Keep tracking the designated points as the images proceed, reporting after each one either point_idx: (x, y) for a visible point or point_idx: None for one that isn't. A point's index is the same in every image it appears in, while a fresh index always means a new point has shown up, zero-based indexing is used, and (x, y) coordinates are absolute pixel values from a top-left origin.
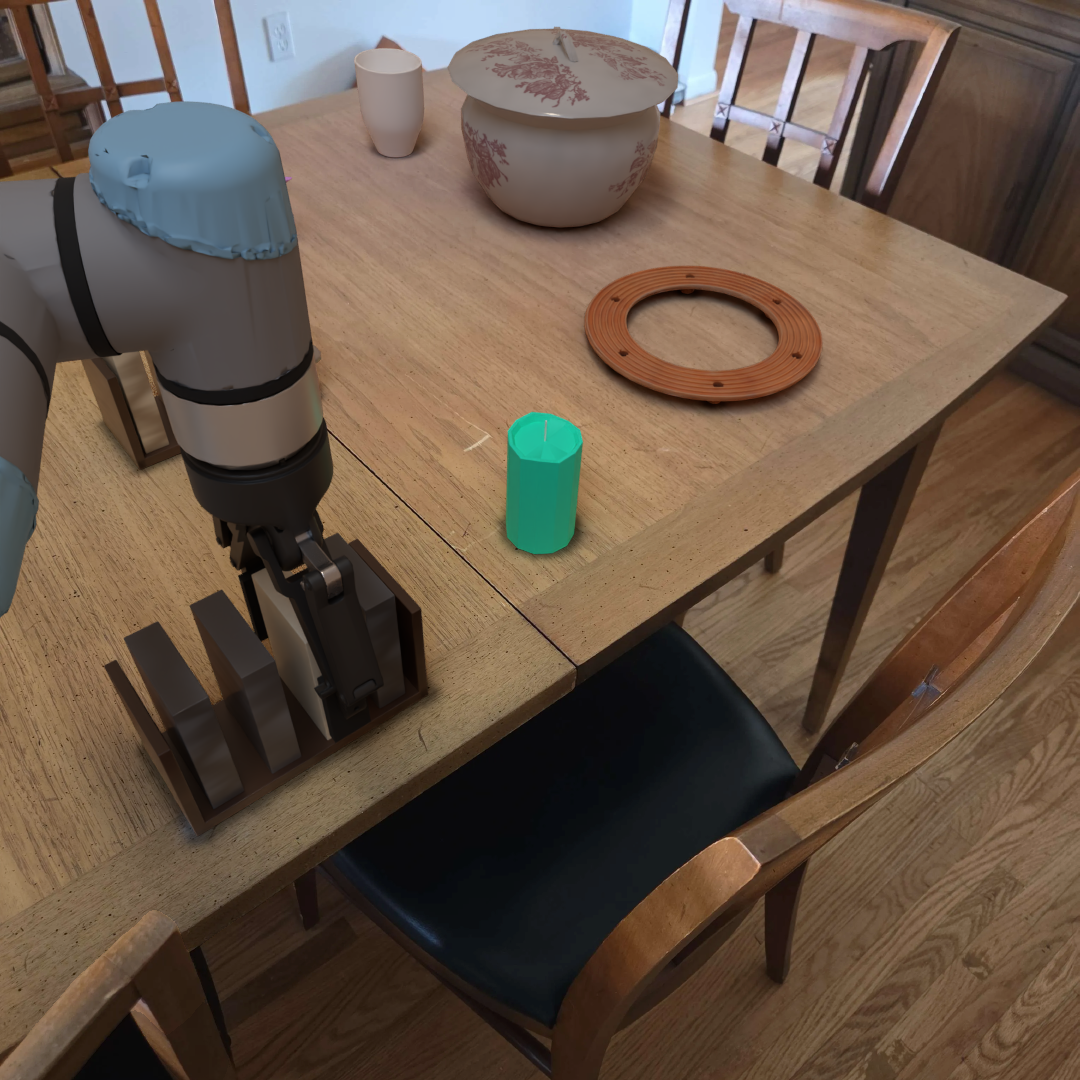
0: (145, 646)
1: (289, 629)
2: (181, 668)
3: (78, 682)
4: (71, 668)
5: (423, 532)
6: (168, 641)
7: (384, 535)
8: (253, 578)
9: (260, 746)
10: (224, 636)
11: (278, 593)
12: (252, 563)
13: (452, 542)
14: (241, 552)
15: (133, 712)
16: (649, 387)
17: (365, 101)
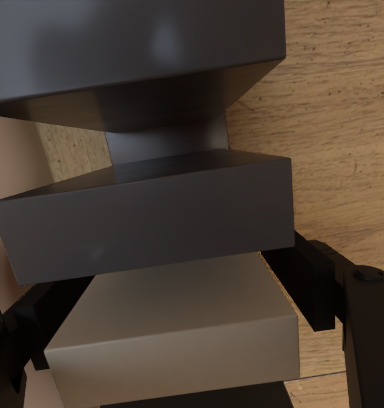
0: None
1: (129, 318)
2: (75, 67)
3: (345, 9)
4: (369, 6)
5: (315, 369)
6: (195, 63)
7: (333, 341)
8: (285, 314)
9: (119, 165)
10: (140, 207)
11: (210, 346)
12: (342, 301)
13: (289, 383)
14: (360, 378)
15: None
16: None
17: None
